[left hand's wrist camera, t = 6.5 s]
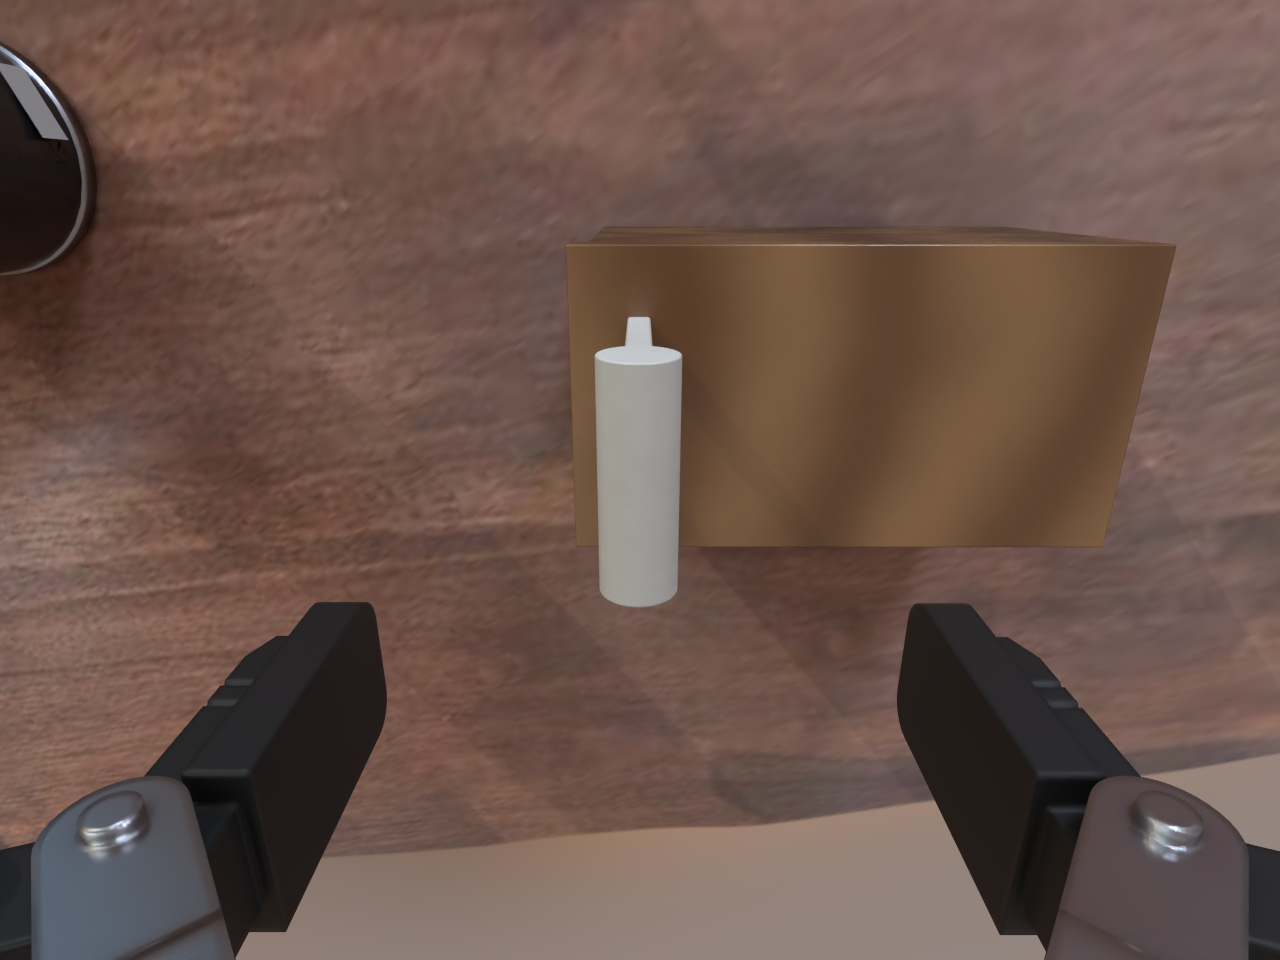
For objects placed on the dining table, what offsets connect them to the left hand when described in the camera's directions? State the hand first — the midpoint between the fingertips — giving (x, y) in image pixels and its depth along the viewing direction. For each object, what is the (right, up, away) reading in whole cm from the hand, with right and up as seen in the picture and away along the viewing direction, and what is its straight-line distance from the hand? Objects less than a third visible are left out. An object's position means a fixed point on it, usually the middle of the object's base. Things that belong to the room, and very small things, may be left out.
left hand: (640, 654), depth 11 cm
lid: (+7, +5, +14) cm, 16 cm away
